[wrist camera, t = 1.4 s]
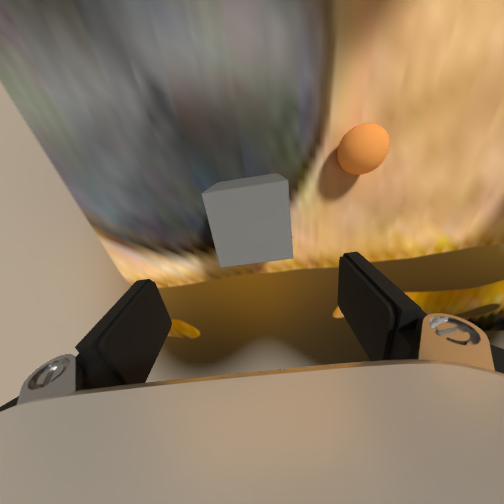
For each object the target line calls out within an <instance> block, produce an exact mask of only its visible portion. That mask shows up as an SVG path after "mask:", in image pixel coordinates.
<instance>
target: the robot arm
mask: <svg viewBox="0 0 504 504" xmlns="http://www.w3.org/2000/svg"><path fill="white" fill-rule="evenodd" d="M338 283H339V284H338V306H339V308H340V310H341V312H342V313H343V315H344V317H345V318H346V320H347V322H348V324H349V325H350V327H351V329H352V330H353V332H354V334H355V335H356V337H357V339H358V340H359V342H360V344H361V346H362V347H363V349H364V351H365V352H366V354H367V355H368V357H369V359H370V361H368V362H355V363H343V364H331V365H320V366H310V367H299V368H289V369H278V370H267V371H257V372H247V373H237V374H227V375H217V376H207V377H197V378H187V379H178V380H168V381H159V382H150V383H145V382H146V380H147V377H148V375H149V373H150V371H151V369H152V367H153V365H154V363H155V360H156V358H157V356H158V354H159V352H160V350H161V348H162V346H163V343H164V341H165V339H166V337H167V335H168V333H169V331H170V329H171V325H172V322H171V319H170V317H169V314H168V312H167V310H166V307H165V305H164V302H163V300H162V298H161V296H160V293H159V291H158V288H157V286H156V284H155V282H153V281H151V280H150V279H145V280H138V281H136V282H135V283H134V284H133V285H132V286H131V287H130V289H129V290H128V291H127V292H126V293H125V294H124V295H123V296H122V297H121V298H120V299H119V300H118V301H117V303H116V304H115V305H114V306H113V307H112V308H111V309H110V310H109V311H108V312H107V313H106V315H104V317H103V318H102V319H101V320H100V321H99V322H98V323H97V324H96V325H95V326H94V327H93V328H92V330H91V331H90V332H89V333H88V334H87V335H86V336H85V337H84V338H83V339H82V340H81V341H80V342H79V343H78V345H77V346H76V347H75V348H76V349H77V350H78V352H79V354H78V355H77V356H76V357H75V356H74V355H72V354H65V355H61V356H59V357H56V358H54V359H52V360H50V361H48V362H47V363H45V364H43V365H42V366H41V367H39V368H38V369H36V370H35V371H34V372H33V373H32V374H31V375H30V376H29V377H28V378H27V379H26V381H25V382H24V383H23V385H22V388H21V391H20V395H19V396H18V397H17V398H15V399H13V400H12V401H10V402H8V403H6V404H5V405H3V406H1V407H0V504H504V349H502V348H499V347H496V346H493V345H490V344H489V340H488V338H487V336H486V334H485V333H484V332H483V331H482V330H481V329H480V328H478V327H477V326H476V325H474V324H473V323H471V322H469V321H467V320H465V319H463V318H460V317H457V316H454V315H449V314H444V313H434V314H429V315H427V314H426V313H425V312H423V311H422V310H421V307H419V306H418V305H417V304H416V303H415V302H414V301H413V300H411V299H410V298H409V297H408V296H407V295H406V294H405V293H404V292H402V291H401V290H400V289H399V288H398V287H397V286H396V285H394V284H393V283H392V282H391V281H390V280H389V279H388V278H387V277H385V276H384V275H383V274H382V273H381V272H380V271H379V270H377V269H376V268H375V267H374V266H373V265H372V264H371V263H370V262H369V261H367V260H366V259H365V258H364V257H363V256H362V255H361V254H359V253H358V252H351V253H344V255H343V257H340V260H339V282H338Z"/></svg>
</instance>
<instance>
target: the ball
mask: <svg viewBox="0 0 504 504" xmlns="http://www.w3.org/2000/svg"><path fill="white" fill-rule="evenodd" d="M389 145H390V141H389V136H388V134H387V132H386V131H385V129H384V128H382V127H381V126H379V125H377V124H373V123H365V124H360V125H358V126H356V127H354V128H352V129H351V130H350V131H348V132H347V133H346V134H345V135H344V137H343V138H342V140H341V142H340V144H339V146H338V150H337V158H338V162H339V165H340V166H341V168H342V169H343V170H345V171H346V172H348V173H350V174H355V175H360V174H365V173H368V172H370V171H372V170H374V169H376V168H377V167H378V166H379V165H380V164H381V163H382V162H383V161H384V159H385V158H386V156H387V153H388V151H389Z"/></svg>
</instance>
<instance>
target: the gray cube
mask: <svg viewBox="0 0 504 504" xmlns="http://www.w3.org/2000/svg"><path fill="white" fill-rule="evenodd" d="M202 197H203V201H204V205H205V209H206V213H207V217H208V221H209V225H210V229H211V233H212V237H213V241H214V245H215V249H216V253H217V257H218V261H219V265H220V268H222V267H230V266H238V265H246V264H254V263H261V262H269V261H277V260H285V259H293V247H292V232H291V217H290V203H289V188H288V180H287V179H285V178H284V177H282V176H281V175H279V174H278V173H274V174H267V175H261V176H255V177H248V178H242V179H236V180H229V181H223V182H217V183H216V184H215V185H213V186H212V187H210V188H209V189H208V190H206V191H205V192H203V193H202Z"/></svg>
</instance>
